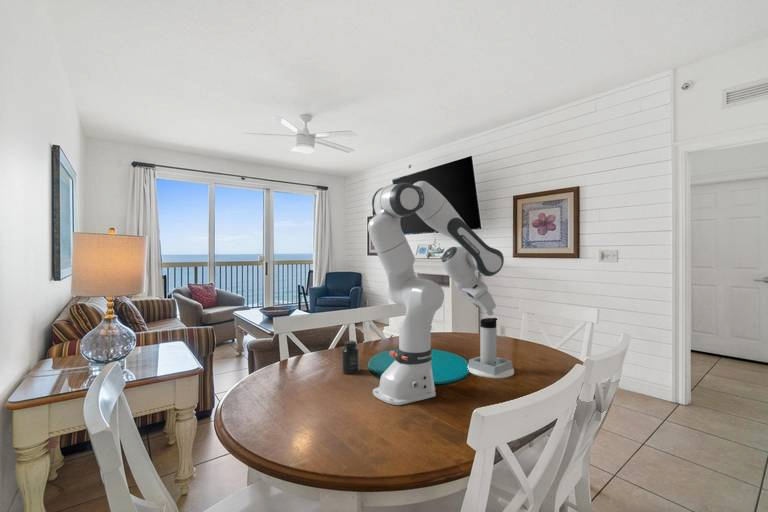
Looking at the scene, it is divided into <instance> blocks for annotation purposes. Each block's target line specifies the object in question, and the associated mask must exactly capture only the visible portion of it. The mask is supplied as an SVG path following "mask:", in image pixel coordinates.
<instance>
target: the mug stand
mask: <svg viewBox="0 0 768 512" xmlns="http://www.w3.org/2000/svg"><path fill="white" fill-rule="evenodd" d="M467 368H468V369H467ZM467 368H466V369H467V371H468V370H469V371H468V372H469V373H471V375H474V376H477V377H481V378H486V379H494V380H496V379H499V380H500V379H507V378H510V377H513V376H514V375H515V369H514V367H513V360H510V359H506V358H501V357H498V356H497V364H496V366H491V365H488V364H484V363H481V362H480V356H476V357H474V358H471V359H468V363H467Z"/></svg>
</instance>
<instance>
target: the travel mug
mask: <svg viewBox="0 0 768 512" xmlns="http://www.w3.org/2000/svg"><path fill="white" fill-rule="evenodd" d="M497 321H498V318H497V317H486V318H482V319H480V322H479V323H480V326H479V327H480V335H479V336H480V338H479V339H480V340H479V341H480V343H479V345H480V349H479V350H480V352H479V353H480V356H479V357H480V362H481V363H484V364H488V365H491V366H496V364H497V357H498V356H497V355H498V353H497V347H498V346H497V344H498V343H497V334H498V333H497V331H498V330H497Z"/></svg>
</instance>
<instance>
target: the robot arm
mask: <svg viewBox="0 0 768 512" xmlns="http://www.w3.org/2000/svg"><path fill="white" fill-rule="evenodd" d="M371 198H372V199H371V206H372V218H371V219H370V220H369V222H368V225H367V230H368V234H369V238H370V241H371V243H372V246H373V248H374V250H375V252H376V254H377V257H378V258H379V260H380V263H381V265H382V266H383V268H384V272H385V273H386V276H387V281H388V282H387V283H388V287H387V294H388V298H389V299H390V301H392V302H394V303H395V304H396V305H397V306H400V307H403V308H406V311H405V315H404V319H403V321H402V322H401V323H400V324H399V327H398V348H397V350H396V351H394V350H391V351H389V356H390V357H391V358H394V361H393V362H392V363H391V364H390V365H389V366H388V368H386V370H385V371H384V372H383V373H382V374H381V375H380V379H379V386H377V387H375V388H374V389H373V390H372V395H373V396H374V397H375V398H377V399H379V400H380V401H381V402H385V403H387V404H389V405H395V406H402V405H406V404H410V403H415V402H419V401H423V400H426V399H427V400H428V399H430V398H435V397H436V396H437V393H436V386H435V382H434V375H433V368H432V359H433V351H432V347H431V344H432V343H431V337H432V336H431V335H432V333H431V331H432V324H433V319H434V317H435V314H436V312H437V311H439V309H440V308H441V307H442V306H443V305H444V304H443V303H444V299H445V293H444V290H443V288H442V286H441V285H440V284H438V283H436V282H434V281H432V280H431V279H426V278H419V277H418V276H417V275H416V274H415V269H414V264H415V262H416V257H415V254H414V253H413V250H412V248H411V246H410V243H409V242H408V240H407V237H406V235H405V234H404V233H405V232H403V230H402V226H401V218H403V217H409V216H411V215H413V214H416V215H417V216H418V217H419V218H420V219H421V221H423V222H424V223H425V224H426V225H427V226H428V227H430V228H431V229H433V230H434V231H436V232H438V233H440V234H442V235H444V236H445V237H449V238H451V239H452V240H454V241H455V242H456V243H458V244H459V245H460V246H451V247H449V248H448V249H446V250H445V251H444V253H443V254H442V256H441V262H442V266H443V268H444V270H445V272H446V273H447V275H448V277H449V278H450V279H451V280H452V281H453V284H454V285H455V288H456V289H457V291H458V292H459V293H460V295H462V296H463V298H465V299H467V300H468V301H470V302H471V304H473V306H474V307H476V308H478V307H480V308H481V309H483V310H485V311H486V313H487V315H488V316H490V317H491V316H492V315H494V310H495V309H496V308H497V305H496V302H495V300H494V298H493V296H492V294H491V293H490V292H489V291H488V290H489V287H488V285H487V284H485V283H484V282H483V281H482V280H481V279H480V278H479V277H478V276H477V274H476V273H475V271H478V272H480V274H482V275H484V276H485V277H492V276H494V275H496V274H498V273H499V272H500V271H502V269H503V267H504V263H505V258H504V254H503V253H502V252H501V250H499V249H497V248H494V247H491V246H490V245H488V244H487V243H485V242H484V240H482V238H481V237H479V236H478V235H477V233H476V232H475V231H474V230H472V229H471V228H470V226H469V225H467V223H466V222H465V221H464V219H463V218H462V217H461V216H460V214H459V213H458V211H456V209H455V208H454V207H453V205H452V204H451V203H450V202H449V200H448V199H447V198H446V197H445V196H444V195H443V194H442V193H441V192H440V191H439V190H438V189H437V188H435V187H434V186H433V185H431V183H429V182H427V181H425V180H418V181H416V182H414V183H413V184H412V183H408V182H401V183H400V182H399V183H397V184H394V183H393V184H389V185H387V186H385V187H381V188H379V189H378V190H377V191H376V192H375V193H374V194H373V196H372V197H371Z"/></svg>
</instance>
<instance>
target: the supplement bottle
mask: <svg viewBox="0 0 768 512" xmlns="http://www.w3.org/2000/svg"><path fill="white" fill-rule="evenodd" d="M359 353H360V352H359V348H357V342H356V341H355V340H346V341H343V348H342V350H341V371H342V373H343V374H346V375H354V374H355V375H356V374H358V373H359V371H360V356H359V355H360V354H359Z"/></svg>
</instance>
